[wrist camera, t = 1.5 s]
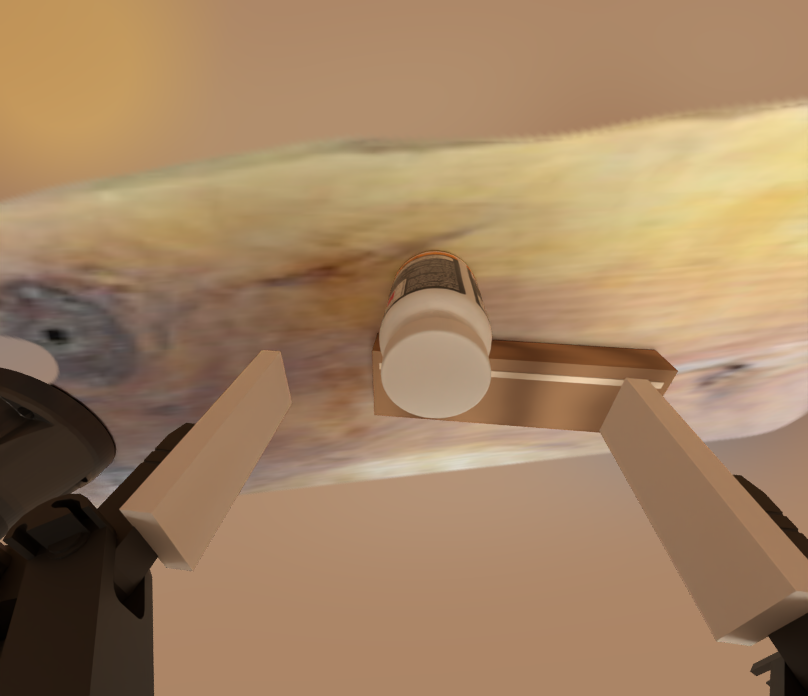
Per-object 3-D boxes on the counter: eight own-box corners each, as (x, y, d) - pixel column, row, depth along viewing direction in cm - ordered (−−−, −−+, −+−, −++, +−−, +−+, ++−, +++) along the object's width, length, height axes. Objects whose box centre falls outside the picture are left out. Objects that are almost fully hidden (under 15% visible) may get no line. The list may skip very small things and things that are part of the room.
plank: (379, 394, 27) (374, 415, 25) (377, 332, 24) (371, 351, 22) (622, 412, 26) (639, 436, 24) (655, 350, 23) (679, 371, 20)
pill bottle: (380, 306, 23) (347, 399, 14) (416, 232, 20) (401, 293, 11) (449, 339, 24) (457, 444, 15) (494, 272, 21) (533, 357, 12)
